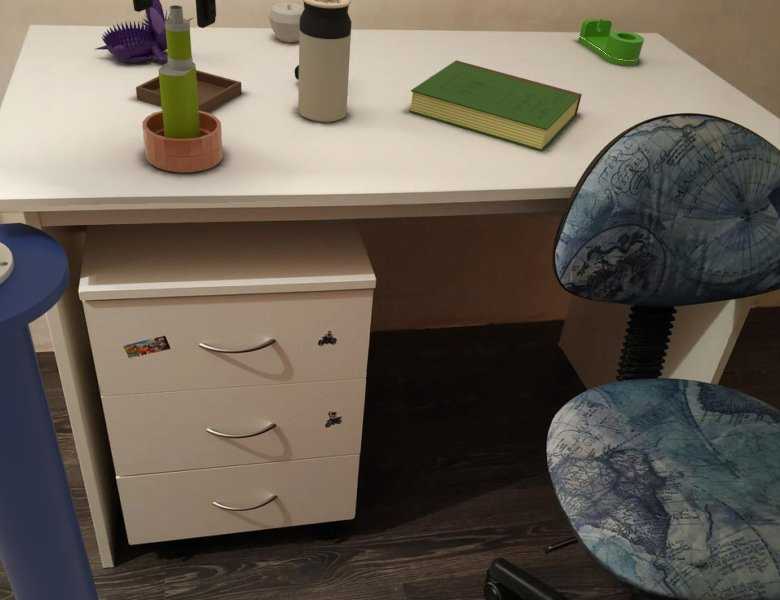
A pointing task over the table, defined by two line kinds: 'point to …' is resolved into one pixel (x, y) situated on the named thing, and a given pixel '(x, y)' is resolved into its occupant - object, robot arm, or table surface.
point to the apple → (286, 21)
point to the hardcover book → (496, 104)
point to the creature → (139, 38)
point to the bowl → (183, 145)
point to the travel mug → (324, 59)
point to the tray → (209, 91)
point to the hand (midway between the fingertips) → (174, 16)
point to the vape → (179, 80)
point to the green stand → (611, 42)
